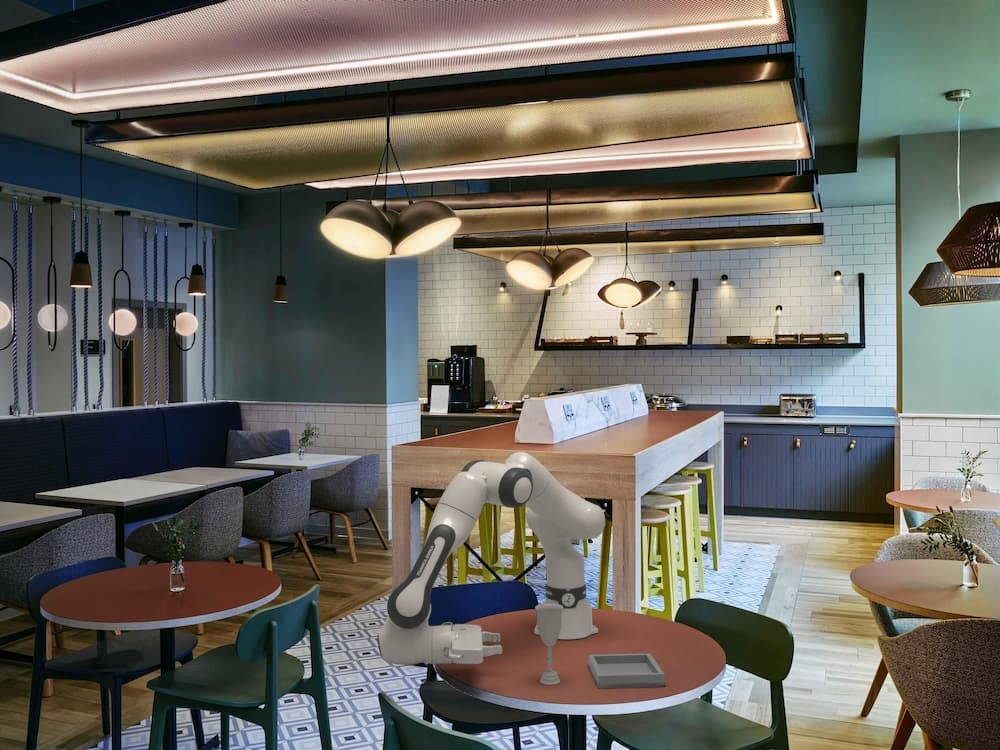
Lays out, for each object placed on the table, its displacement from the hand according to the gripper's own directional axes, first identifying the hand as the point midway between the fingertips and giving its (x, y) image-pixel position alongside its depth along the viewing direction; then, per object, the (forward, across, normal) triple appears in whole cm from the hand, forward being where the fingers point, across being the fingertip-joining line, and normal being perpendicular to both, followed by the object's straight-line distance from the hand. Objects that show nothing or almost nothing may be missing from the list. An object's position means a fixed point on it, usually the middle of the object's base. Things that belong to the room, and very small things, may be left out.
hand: (501, 643), depth 206 cm
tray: (+31, +2, +10) cm, 32 cm away
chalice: (+12, 0, +10) cm, 15 cm away
